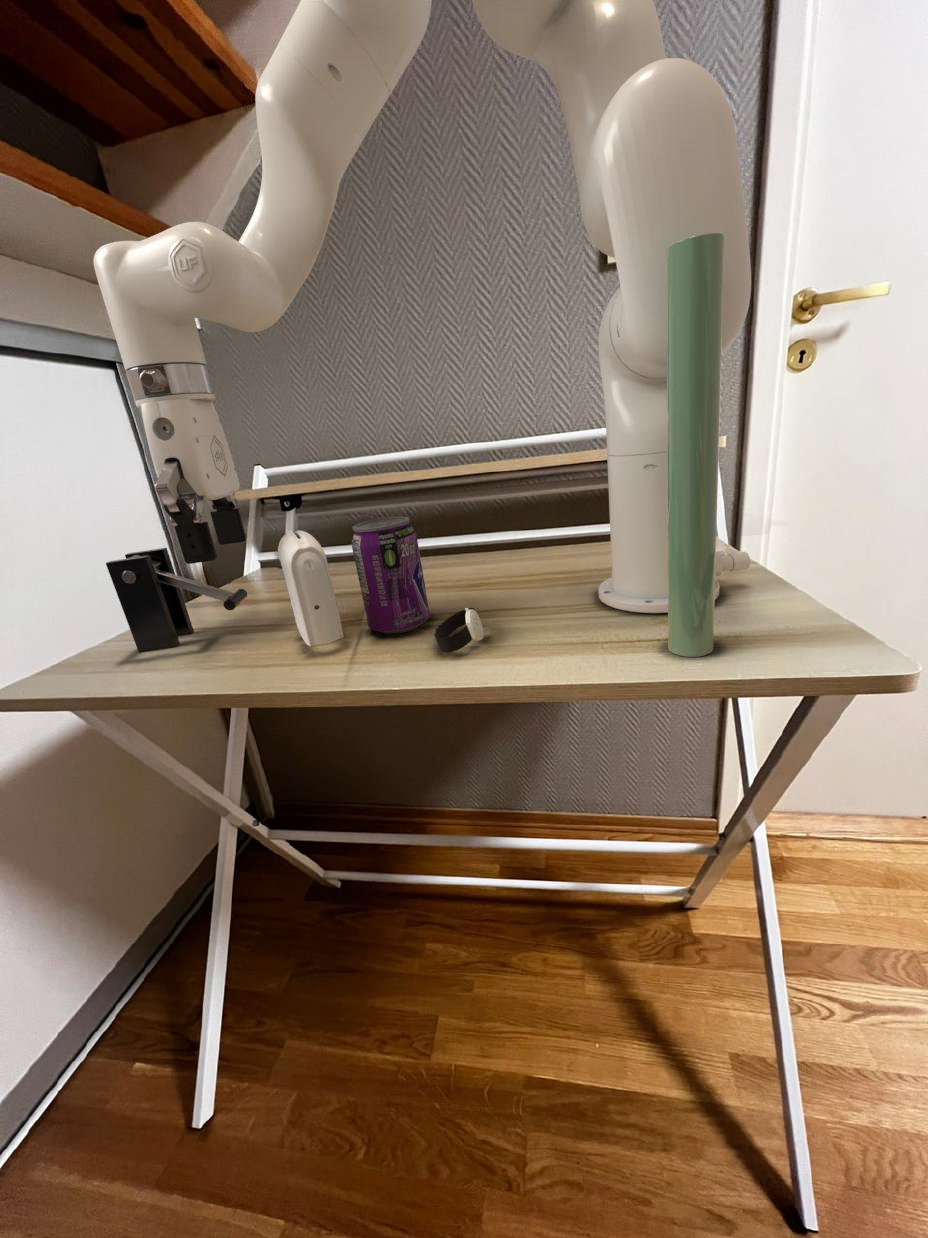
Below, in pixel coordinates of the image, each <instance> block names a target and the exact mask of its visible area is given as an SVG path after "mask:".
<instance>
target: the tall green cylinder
mask: <svg viewBox="0 0 928 1238" xmlns="http://www.w3.org/2000/svg"><path fill="white" fill-rule="evenodd" d="M724 247H725V235H724V234H722V233H708V234H702V235H697V236H693V237H690V238H686V239H683V240H681V241H678V242H676V243H674V244H672V245H670V246H669V247H668V248H667V496H668V613H667V648H668V650H669V652H670V653H672V654H674V655H677V656H680V657H686V658H696V657H703V656H707V655H709V654H711V653H712V652H713V650H714V637H715V606H716V605H715V602H716V599H715V579H716V577H715V569H716V552H717V534H718V533H717V530H718V528H717V527H718V498H719V497H718V495H719V493H718V492H719V458H720V457H719V455H720V427H721V426H720V423H721V422H720V421H721V420H720V419H721V387H722V386H721V385H722V355H723V353H722V319H723V283H724Z"/></svg>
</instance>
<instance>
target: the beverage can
mask: <svg viewBox="0 0 928 1238" xmlns="http://www.w3.org/2000/svg"><path fill="white" fill-rule="evenodd" d="M410 522H411V519H410V517H408V516H402V515H401V516H387V517H381V518H376V519H375V518H374V519H370V520H366V521H362V522H358V523H356V524H354V525H353V526H352V527H351V528H352V531H353V532H354V533H353V537H352V541H351V549H352V554H353V559H354V564H355V568H356V573H357V577H358V578H357V579H358V582H359V587H360V592H361V597H362V603H363V606H364V612H365V617H366V621H367V625H368V628H369V629H370V630H372V631H376V632H380V633H381V634H387V635H398V634H403V633H408V632H410V631H413V630H415V629H417V628H419V627H420V626H421V625H422V624H424V623H425V622H427V620H429V618H430V617H431V616H430V615H431V612H430V607H429V601H428V595H427V588H426V582H425V577H424V572H423V565H422V560H421V553H420V548H419V547H420V546H419V541H418V535H417V532H416V531H415V529H414V528H413V526H412V525H411V524H410Z"/></svg>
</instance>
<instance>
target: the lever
mask: <svg viewBox="0 0 928 1238" xmlns="http://www.w3.org/2000/svg"><path fill="white" fill-rule="evenodd" d="M135 557H141V556H139V555H134V556H132V557H130V558H135ZM127 559H128V558H127ZM151 560H152V559H151ZM152 563H153V566H154V569H155V572H156V575H157V578H158V580H159V582H163V583H166V584H169V585H172V586H176V587H179V588H180V589H183V590H186V591H189V592H192V593H196V594H198V595H202V596H205V597H208V598H211V599H215V600H218V601H222V602H223V603H222V604H223V607H224V609H225V610H227V611H233V610H235V609H236V608H237V607H238V606H239V605H240V604H241V603H242V602H243V601H245V599H247V598H248V592H247V590H246V589H244V588H238V589H237V590H236V591H234V592H232V591H229V590H226V589H222V588H219V587H216V586H212V585H209V584H206V583H203V582H200V581H197V580H193V579H191V578H187V577H184V576H181V575H178V574H175V575H174V574H171V573H168V572H165V571H162V570H160V567H161V562H158V561H155V560H152Z"/></svg>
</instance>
